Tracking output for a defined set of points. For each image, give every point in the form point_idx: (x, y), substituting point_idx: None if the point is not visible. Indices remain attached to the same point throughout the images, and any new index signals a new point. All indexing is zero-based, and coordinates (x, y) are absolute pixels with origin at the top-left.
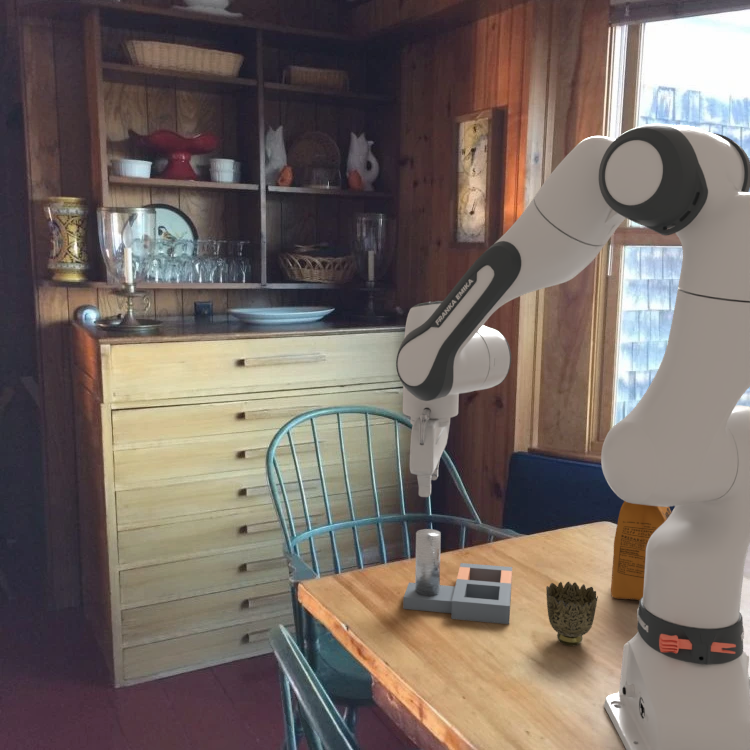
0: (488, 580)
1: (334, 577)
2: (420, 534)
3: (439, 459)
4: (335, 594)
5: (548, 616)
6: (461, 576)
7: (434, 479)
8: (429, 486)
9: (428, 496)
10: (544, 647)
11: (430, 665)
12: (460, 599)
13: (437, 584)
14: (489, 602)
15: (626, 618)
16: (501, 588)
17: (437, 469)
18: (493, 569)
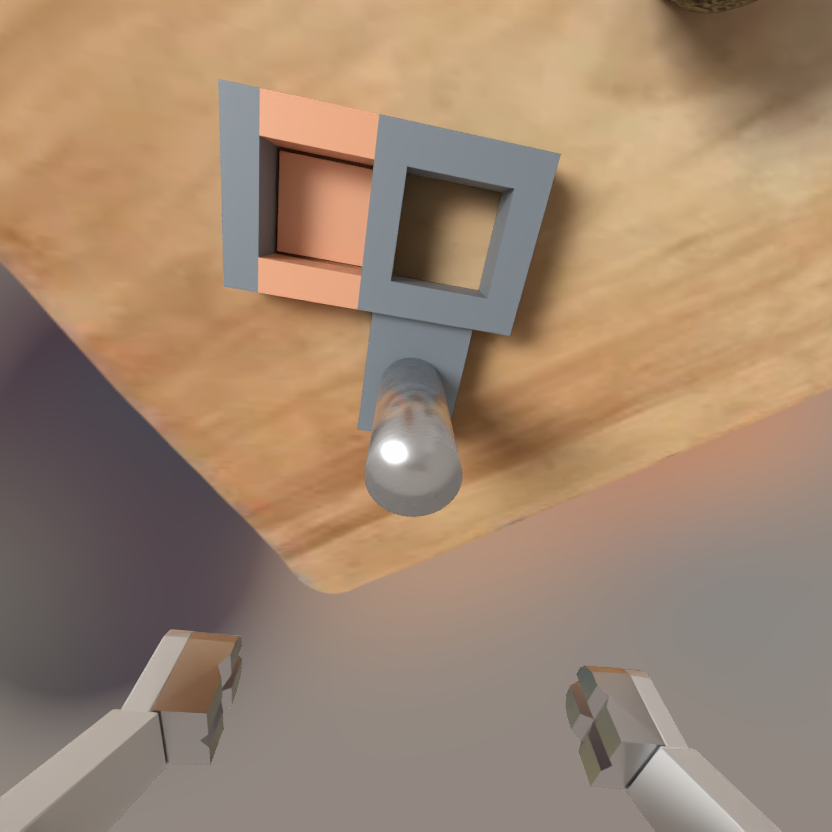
0: (271, 190)
1: (292, 556)
2: (429, 503)
3: (38, 805)
4: (377, 549)
5: (714, 10)
6: (336, 293)
7: (239, 644)
8: (686, 748)
9: (640, 672)
10: (693, 68)
11: (702, 380)
12: (502, 310)
13: (432, 373)
14: (528, 222)
15: None
16: (424, 162)
17: (180, 712)
18: (258, 168)
